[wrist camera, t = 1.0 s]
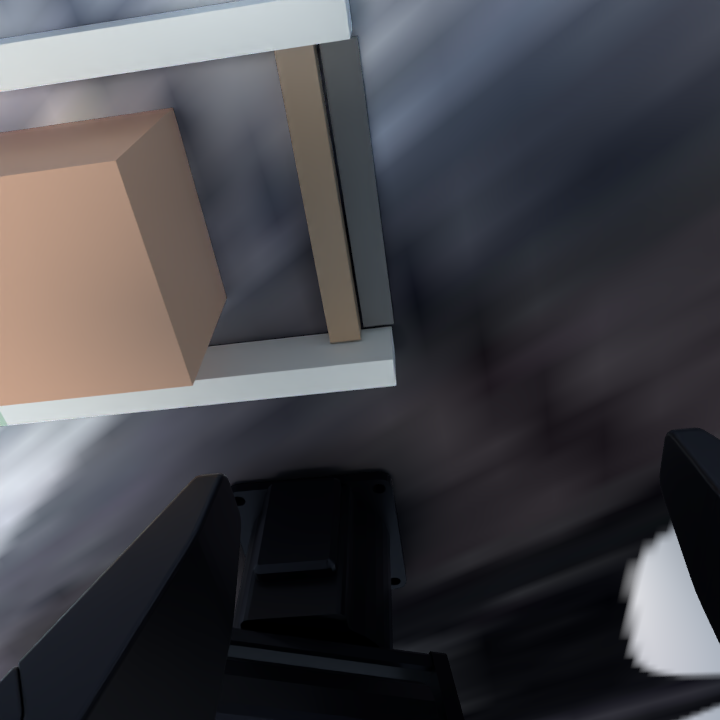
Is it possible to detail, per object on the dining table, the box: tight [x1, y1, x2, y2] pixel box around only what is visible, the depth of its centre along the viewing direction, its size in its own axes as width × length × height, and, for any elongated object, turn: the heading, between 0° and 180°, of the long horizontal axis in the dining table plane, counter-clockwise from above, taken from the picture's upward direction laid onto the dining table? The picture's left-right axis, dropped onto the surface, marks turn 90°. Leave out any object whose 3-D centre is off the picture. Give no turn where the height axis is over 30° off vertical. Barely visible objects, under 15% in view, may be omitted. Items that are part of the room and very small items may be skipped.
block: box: [0, 108, 227, 406], centre depth 18 cm, size 6×6×5 cm
